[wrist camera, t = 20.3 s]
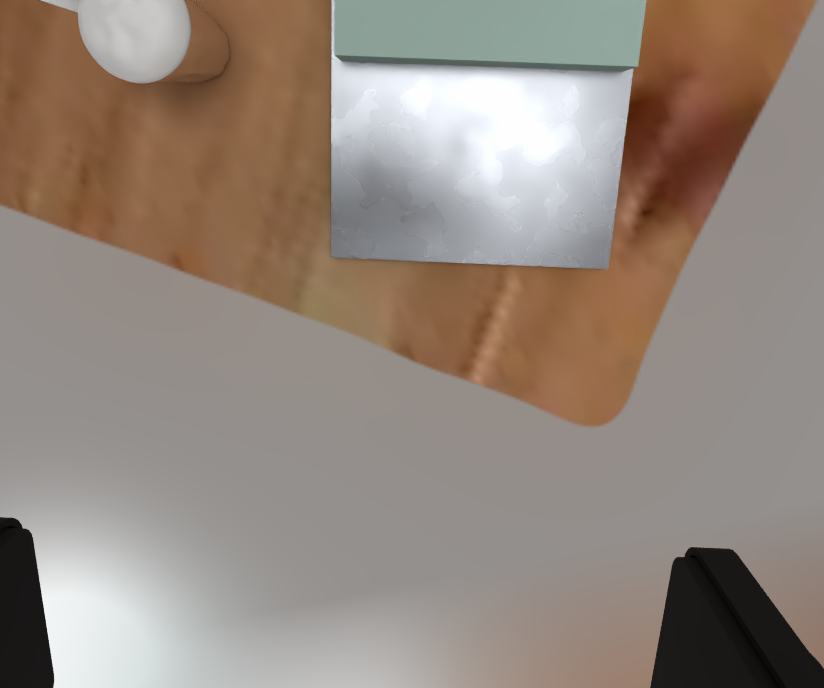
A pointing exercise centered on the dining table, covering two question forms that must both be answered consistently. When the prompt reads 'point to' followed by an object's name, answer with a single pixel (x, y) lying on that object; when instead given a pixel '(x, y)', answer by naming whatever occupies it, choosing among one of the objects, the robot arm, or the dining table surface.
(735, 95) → the dining table surface
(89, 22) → the milkshake
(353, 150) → the vise base
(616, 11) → the block
